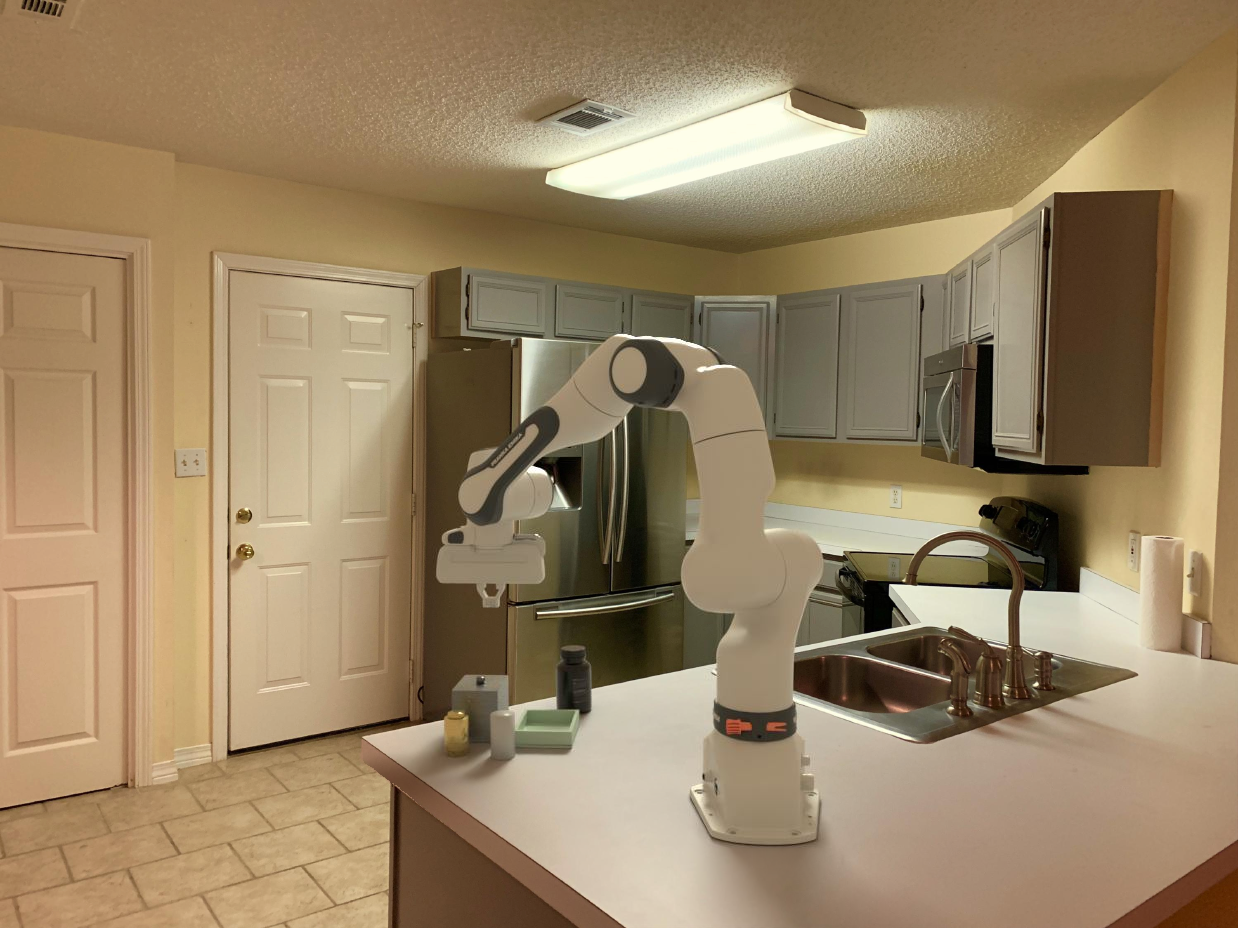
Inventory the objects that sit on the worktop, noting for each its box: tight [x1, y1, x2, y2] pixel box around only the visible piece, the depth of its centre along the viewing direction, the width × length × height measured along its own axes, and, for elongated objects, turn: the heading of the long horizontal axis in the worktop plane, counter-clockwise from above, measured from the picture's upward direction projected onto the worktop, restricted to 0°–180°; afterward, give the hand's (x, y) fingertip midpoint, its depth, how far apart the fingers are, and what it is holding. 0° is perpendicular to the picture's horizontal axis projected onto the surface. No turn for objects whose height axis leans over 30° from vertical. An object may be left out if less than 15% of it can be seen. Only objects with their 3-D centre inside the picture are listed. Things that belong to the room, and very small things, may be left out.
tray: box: [515, 708, 580, 749], centre depth 159 cm, size 12×10×3 cm
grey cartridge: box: [490, 710, 516, 761], centre depth 149 cm, size 4×4×7 cm
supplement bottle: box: [555, 644, 593, 715], centre depth 173 cm, size 7×7×12 cm
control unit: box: [451, 674, 510, 744], centre depth 161 cm, size 10×8×10 cm
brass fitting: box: [443, 710, 470, 758], centre depth 150 cm, size 4×4×7 cm
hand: (491, 606), depth 170 cm, fingers closed
